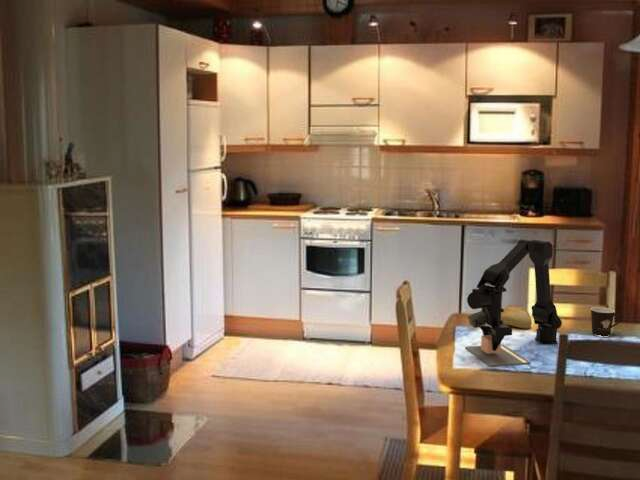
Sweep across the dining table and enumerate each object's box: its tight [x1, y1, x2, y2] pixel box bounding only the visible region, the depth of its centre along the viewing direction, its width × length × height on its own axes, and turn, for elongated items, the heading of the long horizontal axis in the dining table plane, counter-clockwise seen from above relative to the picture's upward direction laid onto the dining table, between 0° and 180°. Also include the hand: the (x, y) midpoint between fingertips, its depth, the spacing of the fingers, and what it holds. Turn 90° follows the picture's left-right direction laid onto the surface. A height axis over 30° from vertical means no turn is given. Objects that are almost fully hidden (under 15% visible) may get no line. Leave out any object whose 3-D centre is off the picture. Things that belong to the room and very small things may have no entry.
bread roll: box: [501, 305, 532, 330], centre depth 293 cm, size 10×15×8 cm, turn 56°
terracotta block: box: [480, 334, 502, 354], centre depth 255 cm, size 5×5×5 cm
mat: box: [464, 343, 531, 368], centre depth 256 cm, size 15×20×1 cm
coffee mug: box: [590, 306, 623, 336], centre depth 282 cm, size 12×9×10 cm
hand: (490, 348), depth 255 cm, fingers closed on terracotta block, 5 cm apart
